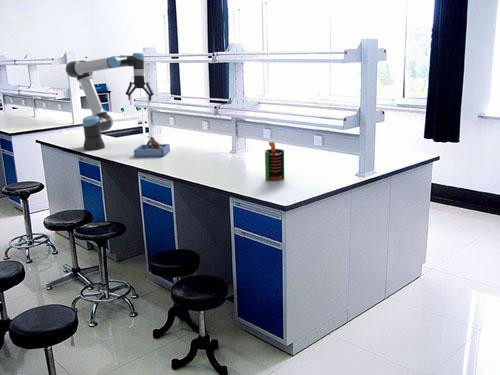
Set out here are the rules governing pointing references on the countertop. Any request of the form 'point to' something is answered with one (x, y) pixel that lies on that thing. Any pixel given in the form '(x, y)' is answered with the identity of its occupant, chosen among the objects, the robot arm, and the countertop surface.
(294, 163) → the countertop surface
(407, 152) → the countertop surface
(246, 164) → the countertop surface
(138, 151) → the parts bin
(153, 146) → the brake caliper
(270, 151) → the motor
